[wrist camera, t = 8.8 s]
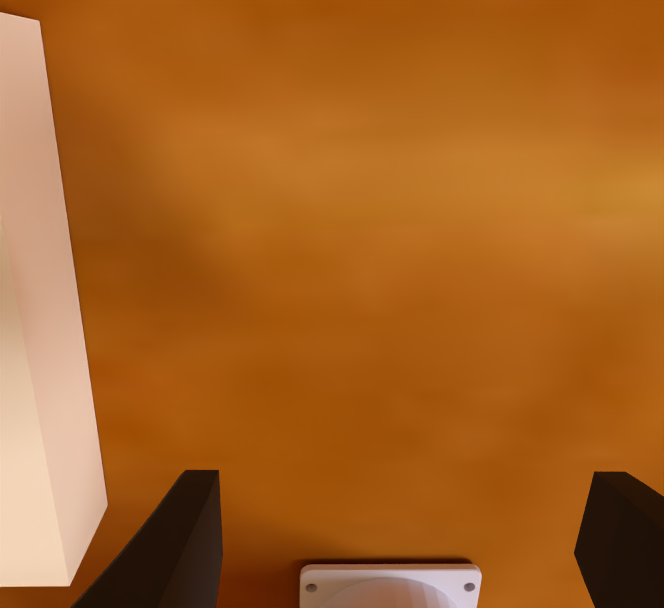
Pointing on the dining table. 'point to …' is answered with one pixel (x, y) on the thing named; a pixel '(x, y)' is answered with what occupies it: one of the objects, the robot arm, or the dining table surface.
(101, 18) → the dining table surface
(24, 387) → the white rectangular box
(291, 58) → the dining table surface
